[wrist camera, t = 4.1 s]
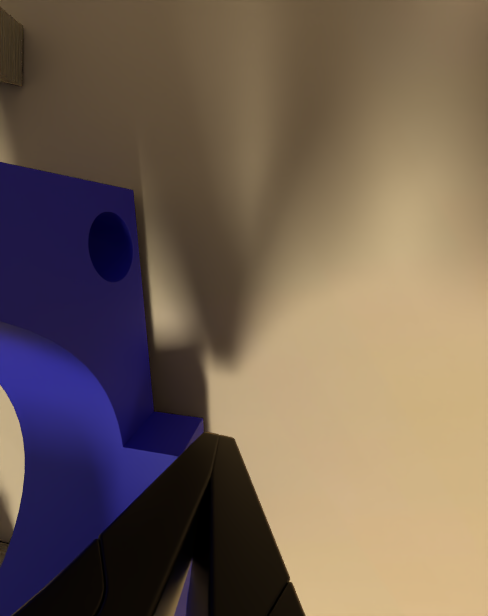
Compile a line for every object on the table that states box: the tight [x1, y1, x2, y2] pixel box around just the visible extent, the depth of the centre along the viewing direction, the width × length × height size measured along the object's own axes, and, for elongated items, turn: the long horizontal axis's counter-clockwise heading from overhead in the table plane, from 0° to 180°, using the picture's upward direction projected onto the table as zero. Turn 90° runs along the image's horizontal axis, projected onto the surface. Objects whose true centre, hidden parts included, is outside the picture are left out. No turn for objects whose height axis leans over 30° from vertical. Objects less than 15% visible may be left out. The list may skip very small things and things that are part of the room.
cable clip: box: [0, 162, 204, 616], centre depth 6 cm, size 12×4×6 cm, turn 0°
